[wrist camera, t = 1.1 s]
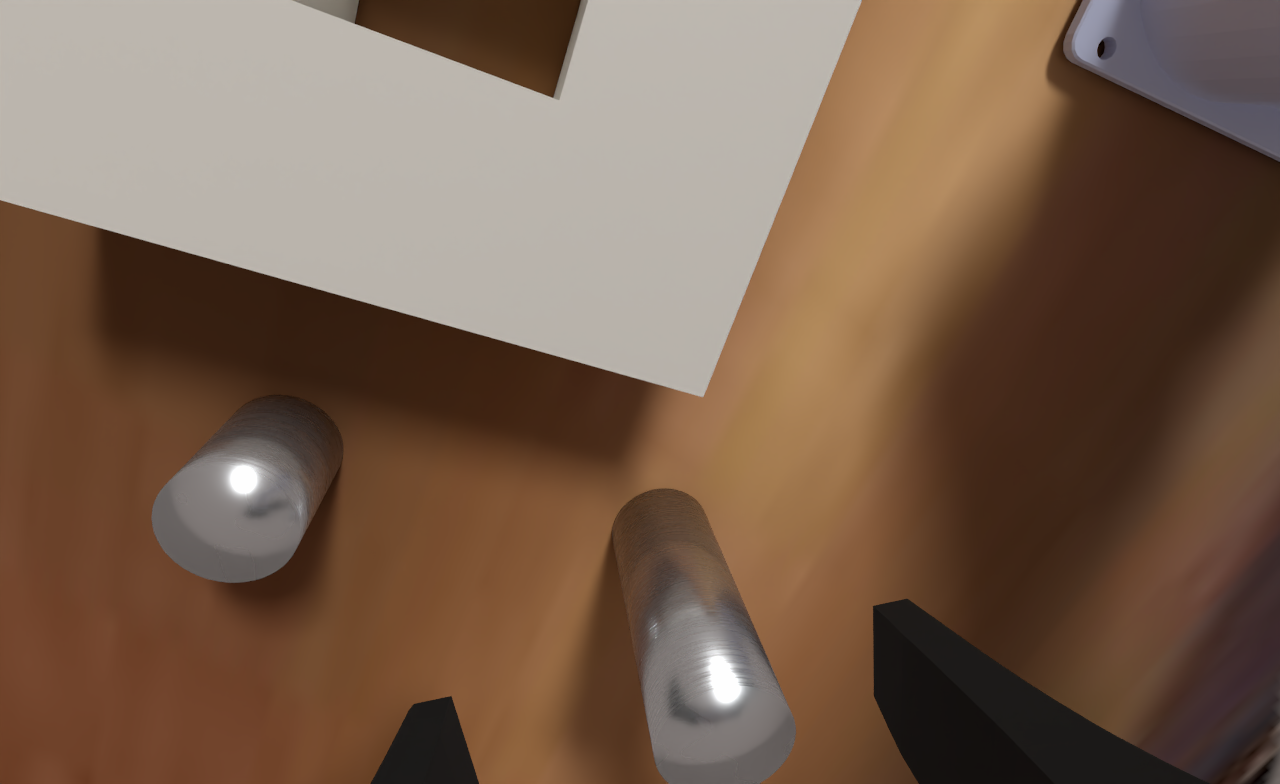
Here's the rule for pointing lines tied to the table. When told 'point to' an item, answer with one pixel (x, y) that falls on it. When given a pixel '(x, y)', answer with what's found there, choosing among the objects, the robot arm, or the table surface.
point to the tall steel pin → (696, 648)
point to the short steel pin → (249, 490)
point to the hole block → (435, 158)
